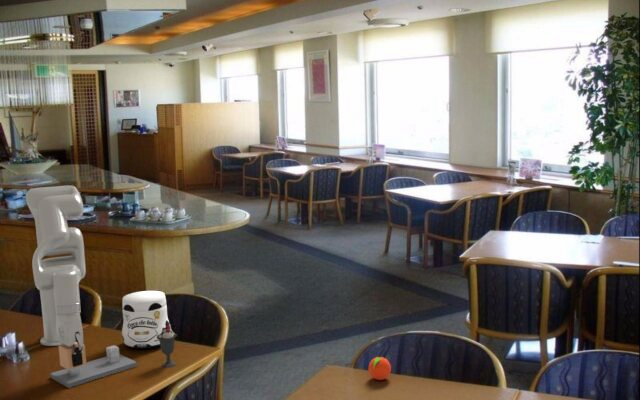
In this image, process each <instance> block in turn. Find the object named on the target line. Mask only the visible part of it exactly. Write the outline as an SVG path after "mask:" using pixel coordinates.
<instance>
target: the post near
mask: <svg viewBox="0 0 640 400" xmlns="http://www.w3.org/2000/svg"><path fill="white" fill-rule="evenodd" d="M67 374H68V375H70V376H74V375H78V374H81V373H80V367H76V368H73V369H70V370H68V369H67Z"/></svg>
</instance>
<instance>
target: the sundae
mask: <svg viewBox="0 0 640 400" xmlns="http://www.w3.org/2000/svg"><path fill="white" fill-rule="evenodd" d="M169 324H170V326H167V327H165V328H162V333H161V334H159V335H157V339H159V341H160V345H159V346H160V350H161V353H163V354H164V355H165V356H166V361H165V362H162V364H161V367H163V368H173V367H175V366H177V362H176V361H172V360H171V354H172V353H174V351H175V345H176V343H175V342H176V337H177V336H178V334H177V333H175V332H174V331H173V330H172V327H171V323H170V322H169ZM169 324H168V325H169ZM170 327H171V328H170Z"/></svg>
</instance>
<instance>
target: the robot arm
mask: <svg viewBox="0 0 640 400" xmlns="http://www.w3.org/2000/svg"><path fill="white" fill-rule="evenodd" d="M25 200H26V201H25V202H26V204H27V207H28V209H29V210H30V212H31V214H32V216H33V218H34V222H35V230H36V231H35V233H36V243H37V244H36V245H37V247H36V249H35V251H34V252H33V255H32V262H31V264H32V265H31V266H32V274H33V280H34V285H35V288H37V290H39V295H40V302H41V303H40V304H41V313H42V314H41V315H42V323H43V324H42V325H43V326H42V327H43V336H42V337H41V338H40V345H42V346H47V347H55V346H56V347H58V346H59V345H63V344H64V345H66V346H68V347H71V348H72V352H73V354H72V364H73V366H74V367H75V366H79V365H82V364H83V359H82V349H83V346H84V345H85V344H84V331H83V324H82V318H81V313H82V311H81V310H82V309H81V298H80V287H79V284H80V282H81V280H82V279H84V278H85V277H86V273H87V272H86V271H87V270H86V257H85V244H84V236H83V234H82V232H81V230H80V228H77V227H71V226H70V227H69V225H68V220H71V219H80V218H81V217H83V215H84V202H83V199H82V196H81V194H80V192H79V190H78V189H77V187H76V186H74V185H57V186H46V187H45V186H44V187H37V188H36V187H35V188H31V189H29V190H27V191H26V194H25ZM65 254H66V256H64V255H65ZM67 254H70V255H67ZM56 255H57V256H58V257H57V256H56ZM59 255H63V256H59ZM45 256H46V257H47V256H48V258H44V257H45ZM49 256H55V257H49ZM74 342H77V344H74ZM77 345H78V347H76V349H75V348H74V346H77Z"/></svg>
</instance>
